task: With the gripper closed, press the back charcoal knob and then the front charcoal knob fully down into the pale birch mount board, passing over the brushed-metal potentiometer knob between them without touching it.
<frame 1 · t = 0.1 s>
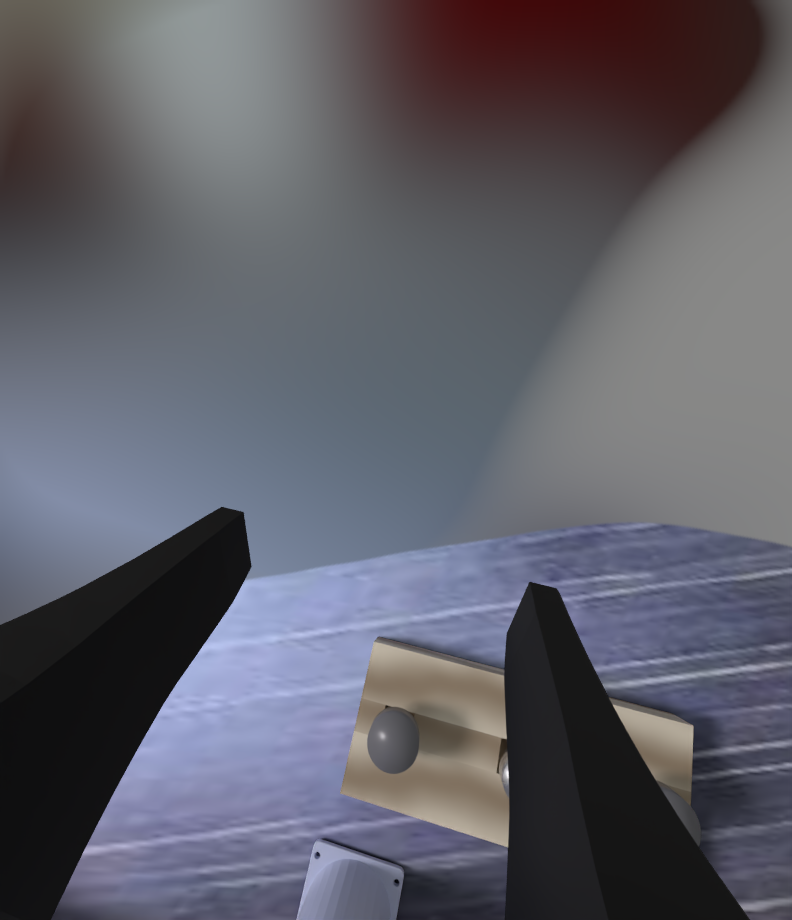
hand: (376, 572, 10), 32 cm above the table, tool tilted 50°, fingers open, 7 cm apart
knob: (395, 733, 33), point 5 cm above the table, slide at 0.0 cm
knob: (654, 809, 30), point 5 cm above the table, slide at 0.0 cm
mount board: (508, 745, 36), on the table
pot knob: (519, 770, 31), point 5 cm above the table, slide at 0.0 cm
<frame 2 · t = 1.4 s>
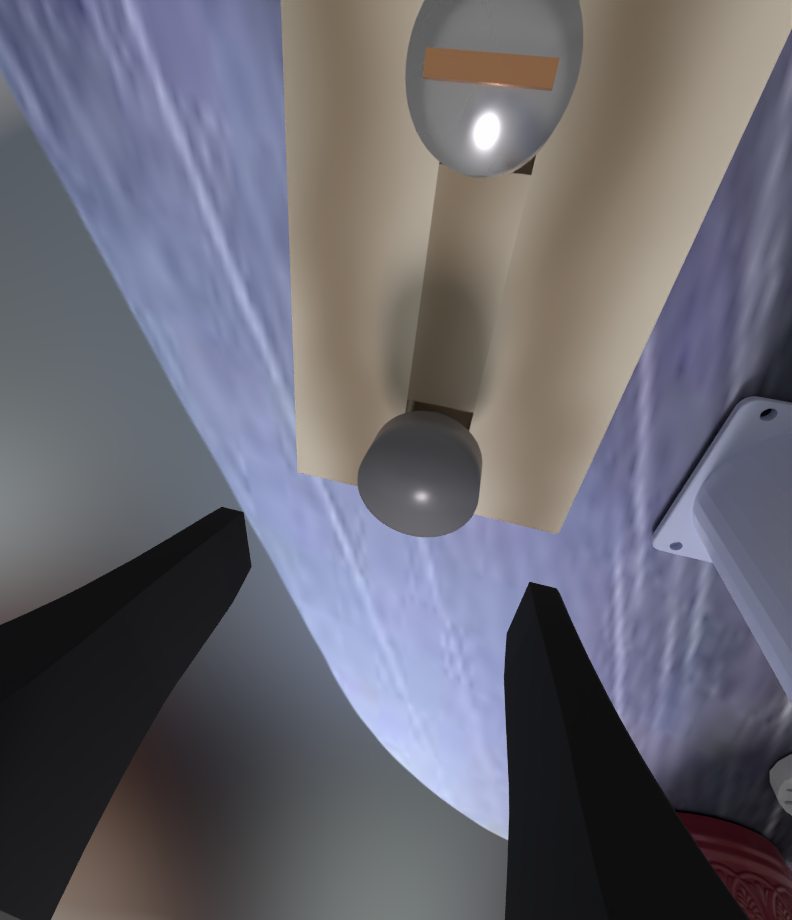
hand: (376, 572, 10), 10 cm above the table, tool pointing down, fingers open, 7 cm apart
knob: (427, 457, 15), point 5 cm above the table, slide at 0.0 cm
mount board: (498, 126, 13), on the table
canister: (688, 839, 35), on the table
pot knob: (493, 93, 9), point 5 cm above the table, slide at 0.0 cm
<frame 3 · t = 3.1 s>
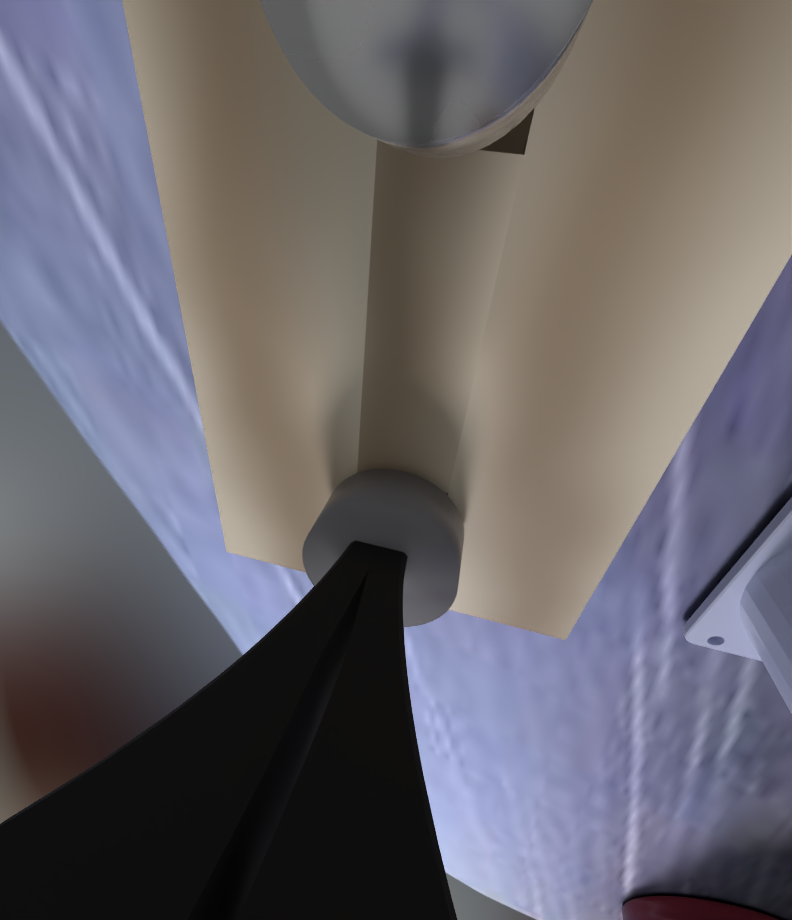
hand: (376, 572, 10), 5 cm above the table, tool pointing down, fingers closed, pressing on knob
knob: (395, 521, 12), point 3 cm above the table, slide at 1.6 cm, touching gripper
mount board: (475, 86, 9), on the table
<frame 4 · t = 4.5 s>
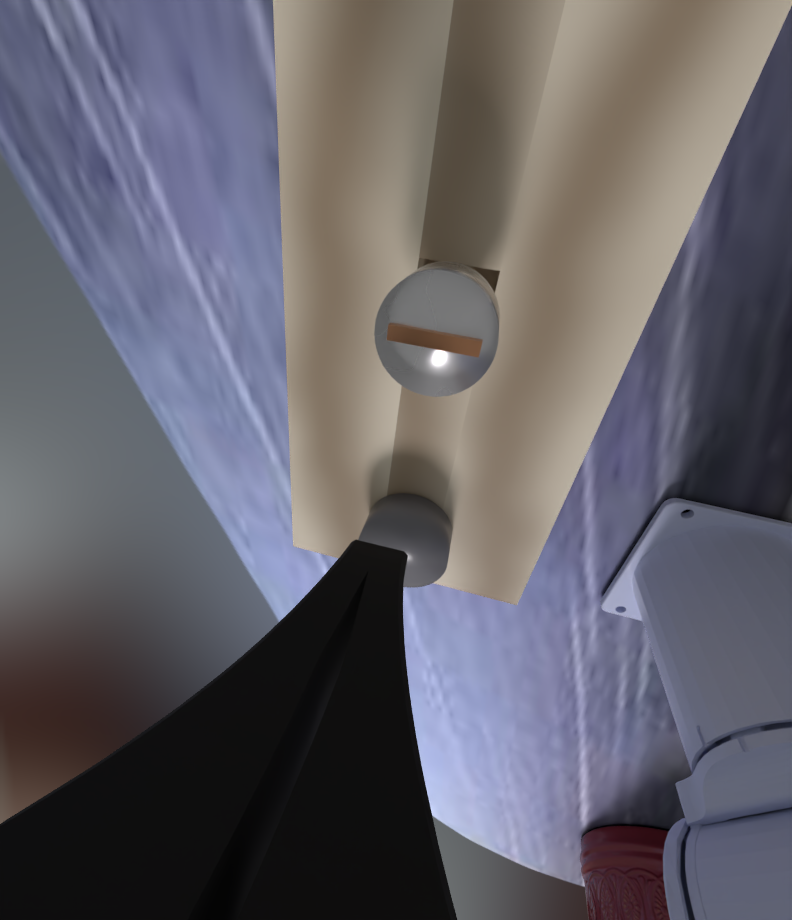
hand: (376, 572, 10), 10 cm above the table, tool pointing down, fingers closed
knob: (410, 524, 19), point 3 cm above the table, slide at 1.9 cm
mount board: (459, 290, 16), on the table
canister: (651, 849, 38), on the table
pot knob: (444, 320, 12), point 5 cm above the table, slide at 0.0 cm
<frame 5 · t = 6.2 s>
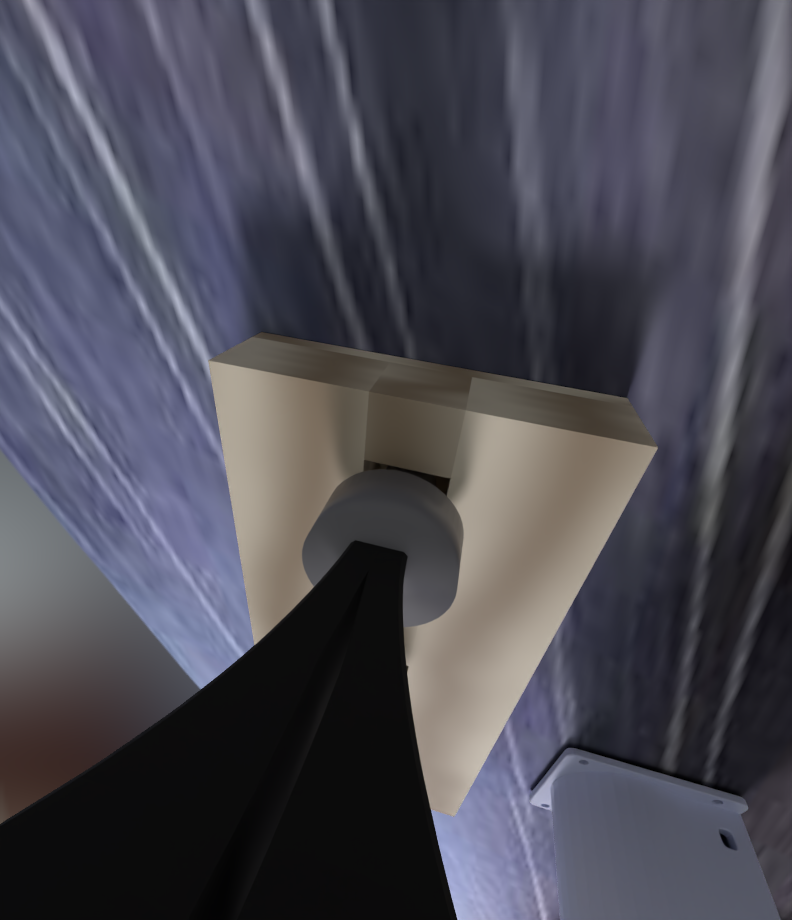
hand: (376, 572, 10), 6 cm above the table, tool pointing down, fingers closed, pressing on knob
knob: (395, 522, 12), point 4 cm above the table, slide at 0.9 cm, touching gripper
mount board: (392, 617, 21), on the table
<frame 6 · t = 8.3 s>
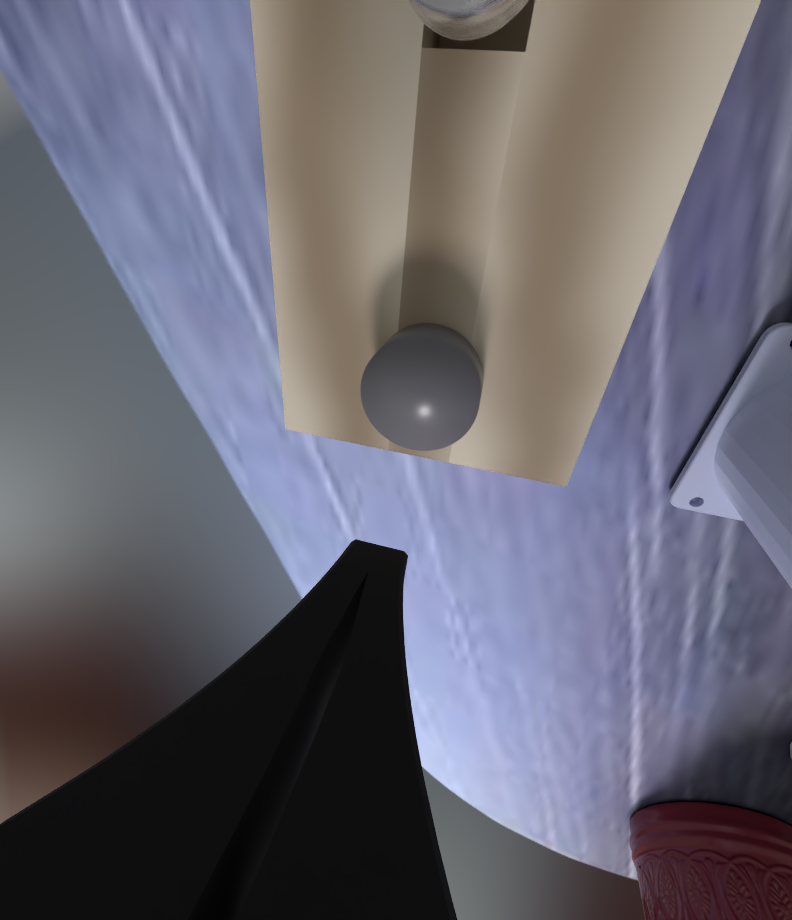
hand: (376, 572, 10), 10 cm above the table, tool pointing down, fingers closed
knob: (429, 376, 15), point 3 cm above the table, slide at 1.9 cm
mount board: (489, 18, 12), on the table
canister: (713, 832, 33), on the table
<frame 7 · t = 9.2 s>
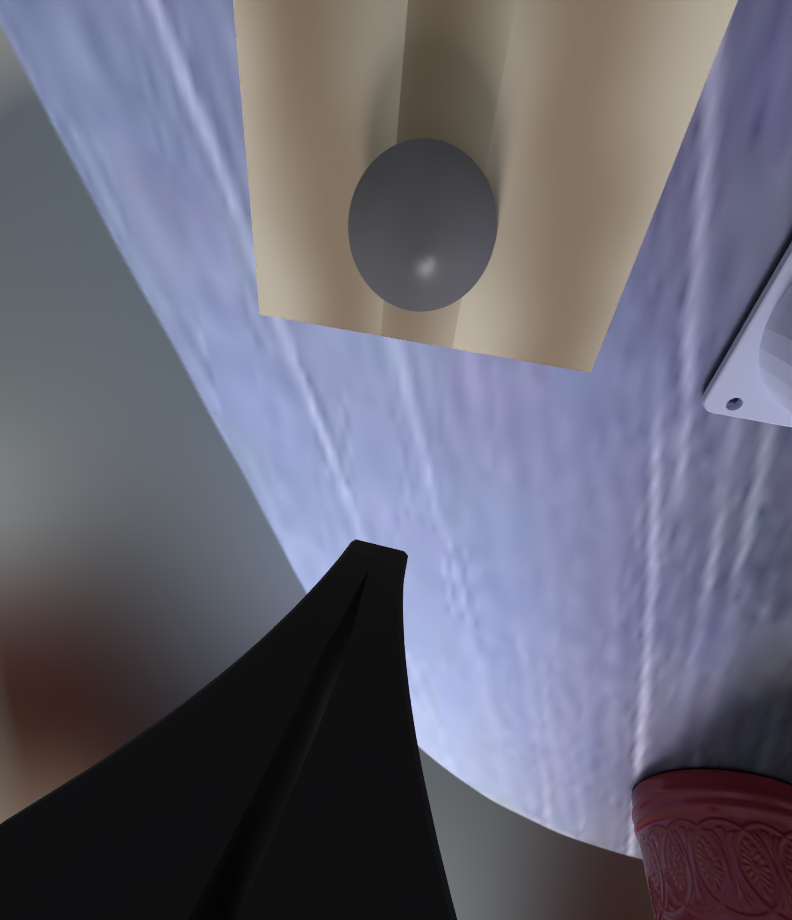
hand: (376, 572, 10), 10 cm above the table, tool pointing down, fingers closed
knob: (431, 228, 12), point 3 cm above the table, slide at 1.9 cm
canister: (720, 802, 31), on the table
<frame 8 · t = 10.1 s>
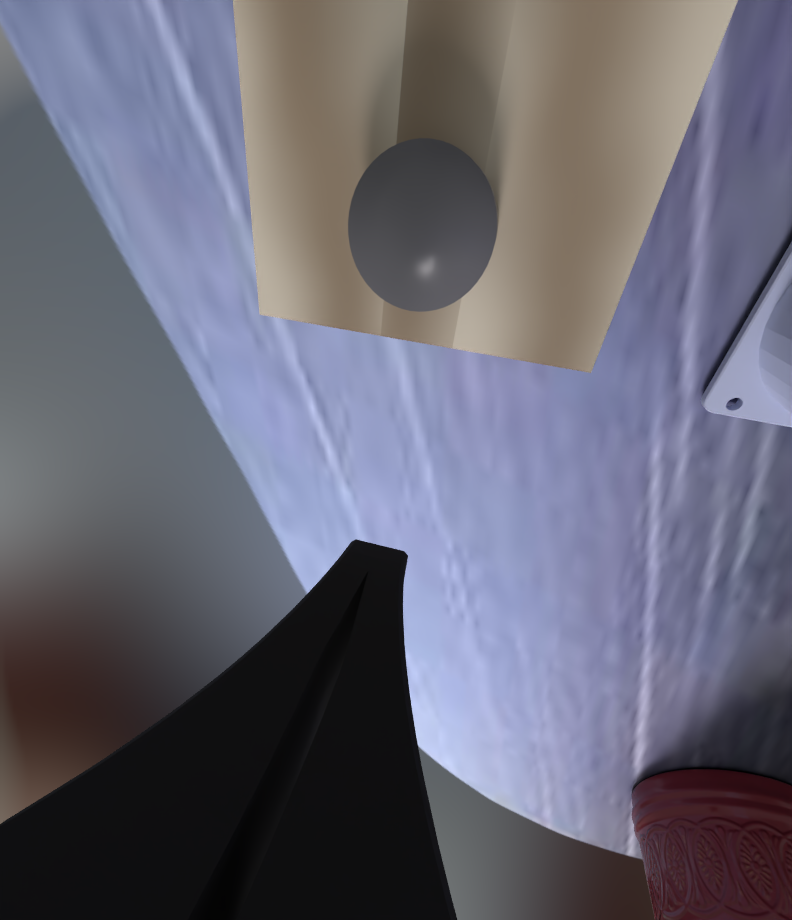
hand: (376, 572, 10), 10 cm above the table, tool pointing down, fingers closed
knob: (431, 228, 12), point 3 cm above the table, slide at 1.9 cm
canister: (720, 802, 31), on the table
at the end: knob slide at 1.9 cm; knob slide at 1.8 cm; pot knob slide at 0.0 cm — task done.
